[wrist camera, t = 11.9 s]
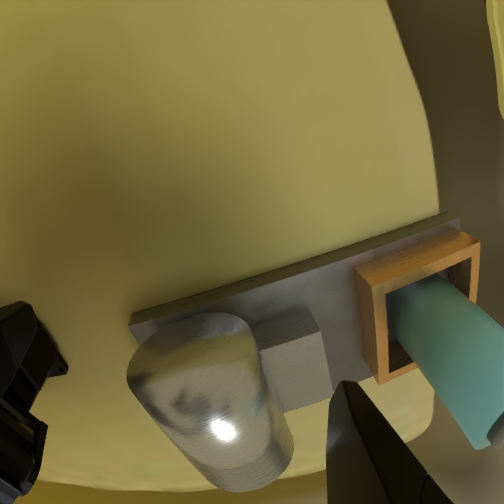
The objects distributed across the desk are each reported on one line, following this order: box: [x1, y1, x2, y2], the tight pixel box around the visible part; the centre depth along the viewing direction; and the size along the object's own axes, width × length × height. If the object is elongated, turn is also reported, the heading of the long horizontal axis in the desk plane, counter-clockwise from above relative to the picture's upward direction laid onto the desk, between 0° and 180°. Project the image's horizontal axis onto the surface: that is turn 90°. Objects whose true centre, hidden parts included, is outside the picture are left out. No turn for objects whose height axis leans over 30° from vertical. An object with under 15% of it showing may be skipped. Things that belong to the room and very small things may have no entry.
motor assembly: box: [127, 212, 480, 492], centre depth 18 cm, size 23×11×8 cm, turn 107°
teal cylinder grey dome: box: [385, 272, 504, 450], centre depth 15 cm, size 5×5×12 cm
